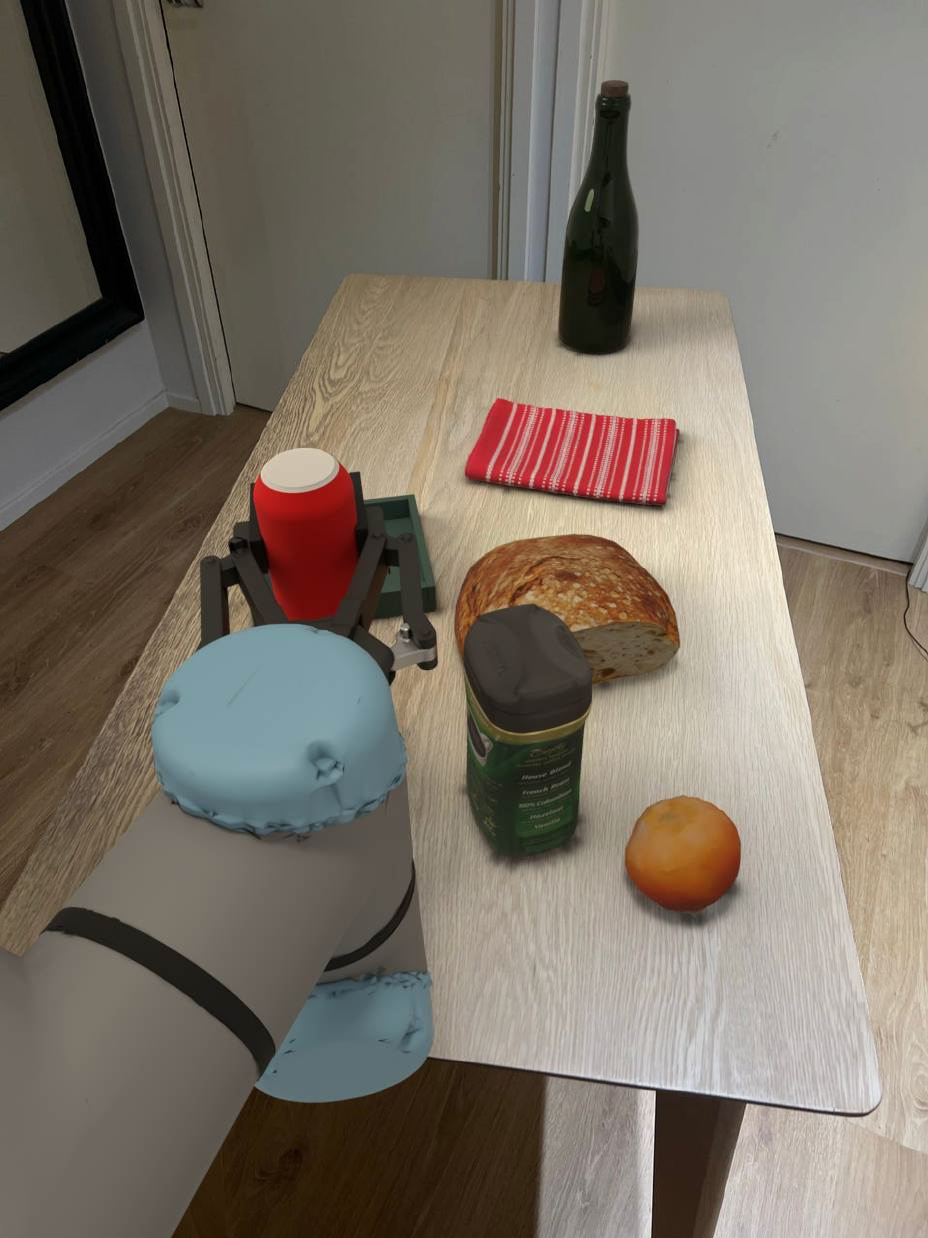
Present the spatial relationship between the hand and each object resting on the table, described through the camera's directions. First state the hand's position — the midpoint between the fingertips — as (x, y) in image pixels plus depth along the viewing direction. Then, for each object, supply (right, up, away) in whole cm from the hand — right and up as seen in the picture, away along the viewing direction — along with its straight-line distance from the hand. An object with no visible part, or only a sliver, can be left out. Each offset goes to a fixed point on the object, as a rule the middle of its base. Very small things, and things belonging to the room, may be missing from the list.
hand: (308, 493), depth 61 cm
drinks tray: (-2, -4, +31) cm, 31 cm away
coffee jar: (+15, -24, +9) cm, 30 cm away
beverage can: (+1, -8, +1) cm, 8 cm away
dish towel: (+24, +11, +46) cm, 53 cm away
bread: (+20, -10, +24) cm, 33 cm away
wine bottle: (+30, +32, +69) cm, 82 cm away
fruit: (+27, -28, +5) cm, 39 cm away
